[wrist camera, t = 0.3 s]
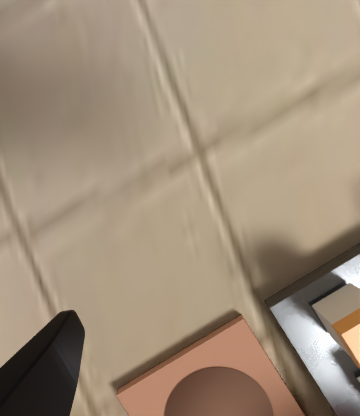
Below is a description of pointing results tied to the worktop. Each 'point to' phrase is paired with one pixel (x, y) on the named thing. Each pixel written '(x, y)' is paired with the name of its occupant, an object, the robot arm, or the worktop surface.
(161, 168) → the worktop surface
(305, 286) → the panel
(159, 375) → the pink coaster
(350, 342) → the block
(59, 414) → the robot arm
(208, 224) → the worktop surface
